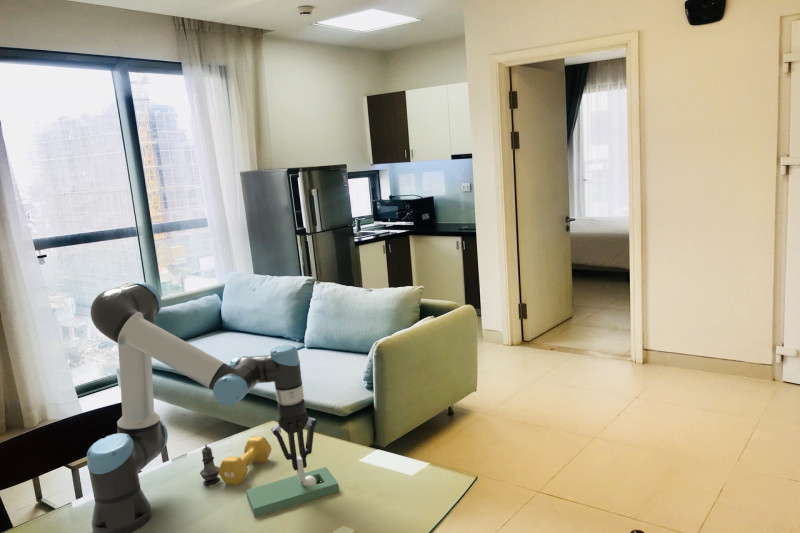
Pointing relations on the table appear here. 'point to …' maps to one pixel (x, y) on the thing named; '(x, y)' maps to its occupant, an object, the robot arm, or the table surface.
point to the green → (290, 492)
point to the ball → (309, 481)
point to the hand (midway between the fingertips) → (301, 479)
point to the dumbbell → (244, 460)
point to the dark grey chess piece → (209, 468)
